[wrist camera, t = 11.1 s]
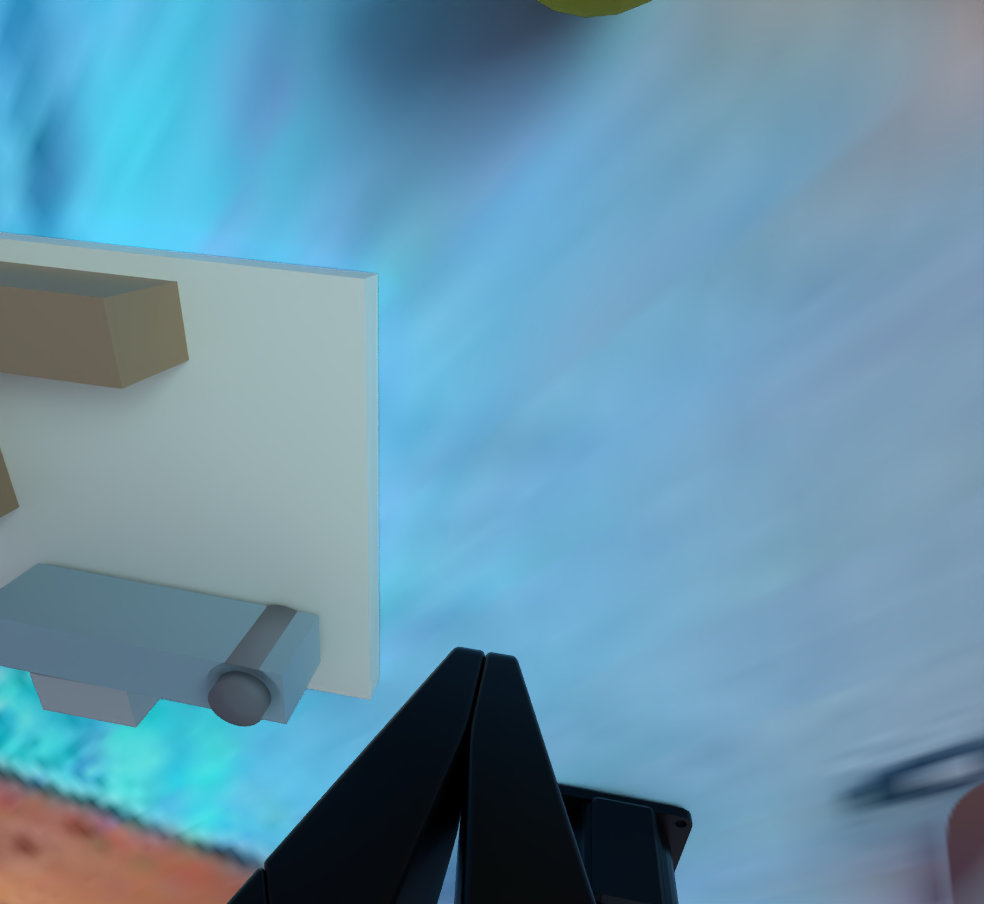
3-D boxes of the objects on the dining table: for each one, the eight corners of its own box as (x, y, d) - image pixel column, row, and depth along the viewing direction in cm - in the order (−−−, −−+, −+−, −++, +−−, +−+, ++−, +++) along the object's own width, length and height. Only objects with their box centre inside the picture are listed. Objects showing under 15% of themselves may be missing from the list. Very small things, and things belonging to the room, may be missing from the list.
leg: (319, 612, 22) (273, 685, 19) (320, 664, 23) (278, 741, 20) (37, 559, 23) (-52, 620, 20) (53, 612, 24) (-29, 678, 21)
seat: (379, 681, 25) (343, 767, 21) (32, 619, 27) (-58, 689, 23) (377, 273, 18) (322, 295, 14) (-106, 220, 19) (-275, 227, 15)
